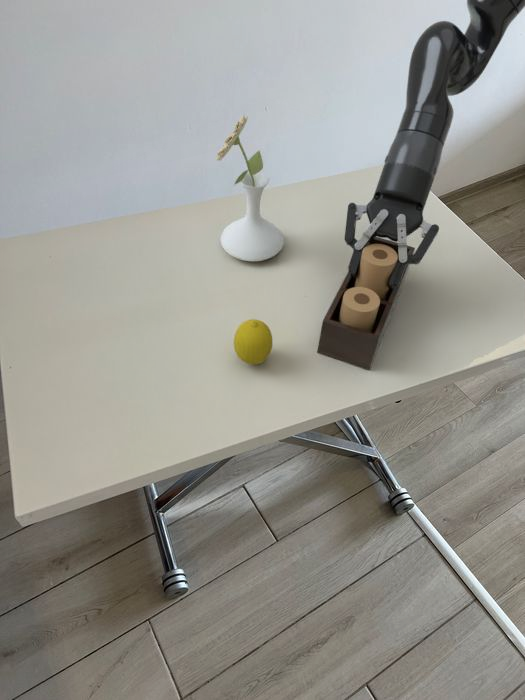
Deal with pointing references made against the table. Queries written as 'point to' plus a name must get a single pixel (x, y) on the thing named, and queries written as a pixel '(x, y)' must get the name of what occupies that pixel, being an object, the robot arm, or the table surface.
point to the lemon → (253, 341)
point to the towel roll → (376, 268)
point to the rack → (353, 341)
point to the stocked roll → (359, 308)
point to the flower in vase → (250, 210)
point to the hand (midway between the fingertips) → (371, 281)
